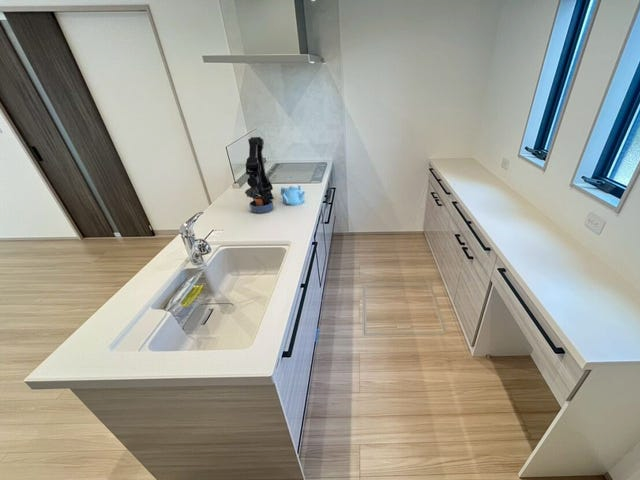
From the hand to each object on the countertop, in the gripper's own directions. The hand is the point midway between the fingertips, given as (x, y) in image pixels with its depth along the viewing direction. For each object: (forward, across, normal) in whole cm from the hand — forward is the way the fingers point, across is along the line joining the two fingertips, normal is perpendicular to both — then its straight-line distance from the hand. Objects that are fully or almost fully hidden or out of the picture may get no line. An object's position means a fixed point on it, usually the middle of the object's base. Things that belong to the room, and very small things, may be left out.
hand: (261, 206), depth 197 cm
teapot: (+2, +8, +21) cm, 22 cm away
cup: (+2, 0, 0) cm, 2 cm away
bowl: (+2, 0, 0) cm, 2 cm away
